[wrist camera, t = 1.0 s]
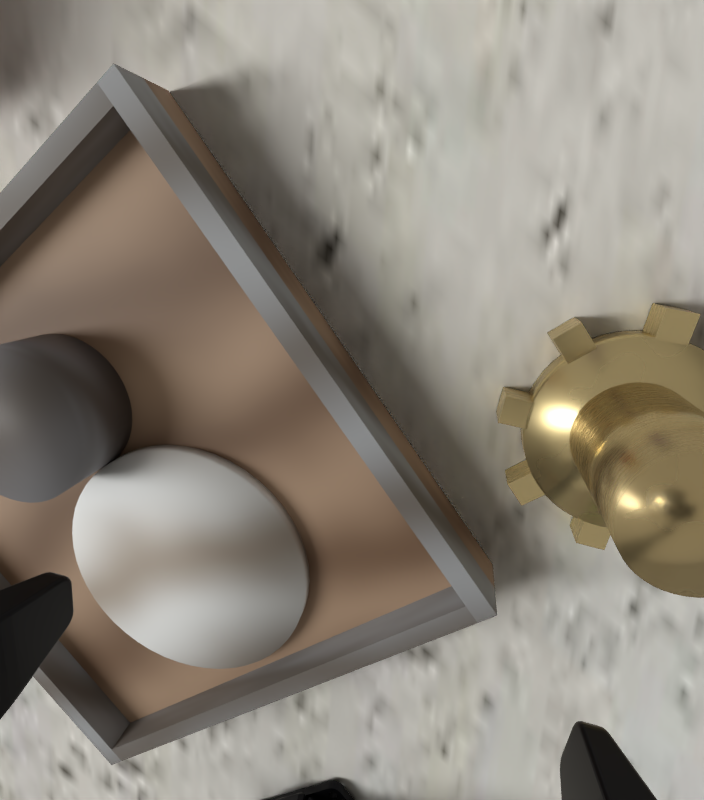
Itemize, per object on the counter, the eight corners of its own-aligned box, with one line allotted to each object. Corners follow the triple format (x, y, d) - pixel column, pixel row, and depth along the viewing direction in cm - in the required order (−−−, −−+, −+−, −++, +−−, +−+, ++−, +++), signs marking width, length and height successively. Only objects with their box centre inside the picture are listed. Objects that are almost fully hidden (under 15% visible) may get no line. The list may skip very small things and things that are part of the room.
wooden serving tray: (492, 564, 21) (500, 646, 17) (146, 712, 28) (91, 795, 24) (168, 90, 18) (77, 45, 14) (-124, 397, 25) (-240, 429, 21)
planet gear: (810, 468, 17) (1010, 601, 11) (568, 566, 20) (615, 714, 14) (690, 249, 16) (837, 256, 10) (451, 388, 19) (445, 462, 13)
